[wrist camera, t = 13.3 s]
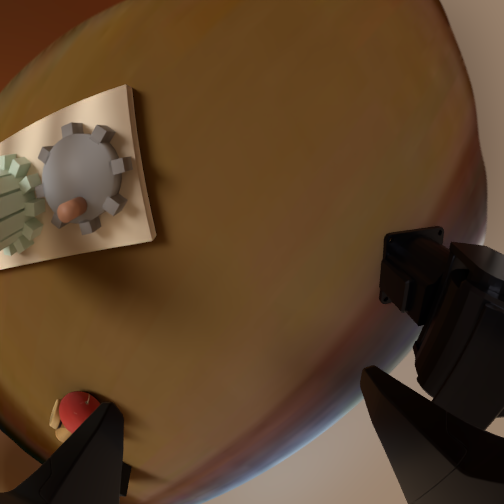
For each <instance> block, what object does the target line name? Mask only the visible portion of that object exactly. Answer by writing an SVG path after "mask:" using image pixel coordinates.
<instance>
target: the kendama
mask: <svg viewBox="0 0 504 504" xmlns="http://www.w3.org/2000/svg"><path fill="white" fill-rule="evenodd" d="M99 405H100V403H99V402H98V400H97V399H96V398H94V397H93V396H92V395H90V394H89V393H85V392H81V391H75V392H71V393H69V394H67V395H66V396H65V397H64V398H63V399H62V400H61V399H57V400H56V402H55V405H54V407H53V410H52V413H51V417H50V422H49V425H50V426H51V427H52V428H54V429H56V431H55V433H56V437H57V438H58V440H60V441H61V442H63V443H64V442H65V441H66V440H67V439H68V438H69V437H70V436H71V434H72V433H73V432H74V431H75V430H76V429H77V428H78V427H79V426H80V425H81V424H82V423H83V422H84V421H85V420H86V419H87V418H88V417H89V416H90V415H91V414H92V413H93V412H94V411H95V409H96V408H97V407H98V406H99Z"/></svg>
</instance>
